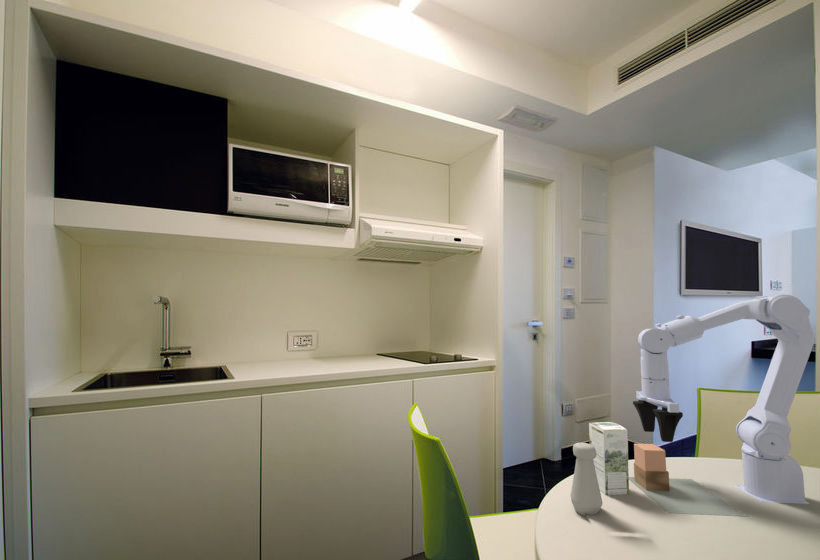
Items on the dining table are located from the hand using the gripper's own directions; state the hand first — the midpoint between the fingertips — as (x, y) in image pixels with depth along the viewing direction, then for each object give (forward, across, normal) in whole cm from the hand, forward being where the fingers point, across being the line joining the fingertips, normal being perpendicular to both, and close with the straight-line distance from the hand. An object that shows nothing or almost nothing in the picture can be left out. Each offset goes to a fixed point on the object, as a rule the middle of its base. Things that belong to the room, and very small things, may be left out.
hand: (657, 436), depth 93 cm
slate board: (+10, +8, 0) cm, 13 cm away
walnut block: (+10, +4, -4) cm, 11 cm away
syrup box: (+11, +6, -14) cm, 19 cm away
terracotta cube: (+6, +4, -4) cm, 8 cm away
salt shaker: (+11, +16, -23) cm, 30 cm away
